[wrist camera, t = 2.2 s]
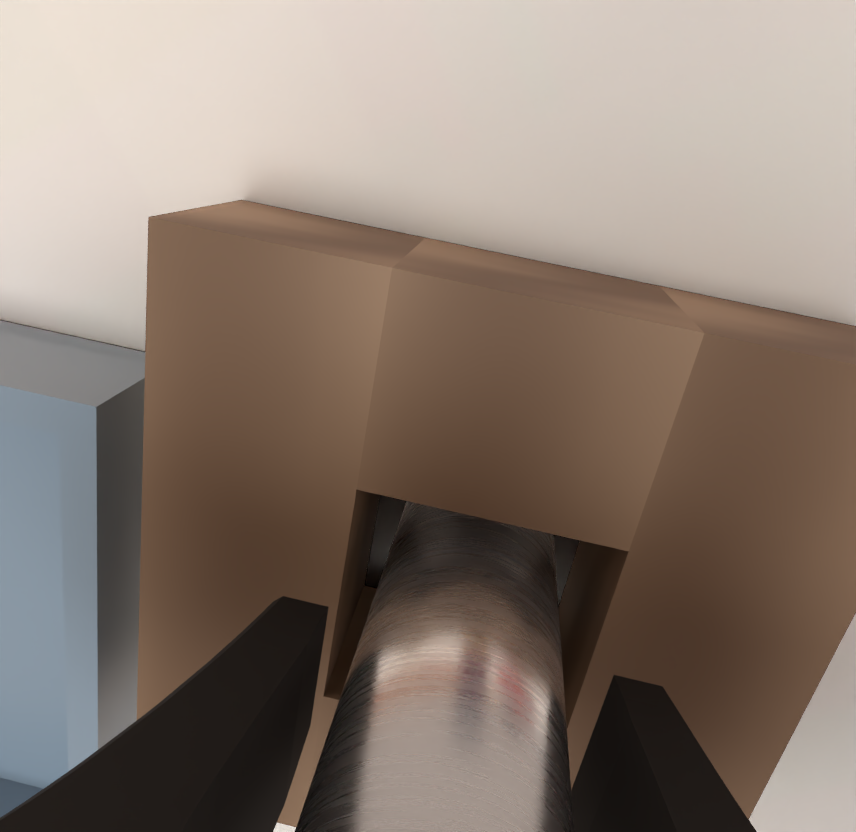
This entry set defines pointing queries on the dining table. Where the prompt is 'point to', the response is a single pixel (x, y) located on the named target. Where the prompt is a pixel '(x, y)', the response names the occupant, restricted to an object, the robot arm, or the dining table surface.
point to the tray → (66, 551)
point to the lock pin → (452, 690)
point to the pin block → (495, 462)
